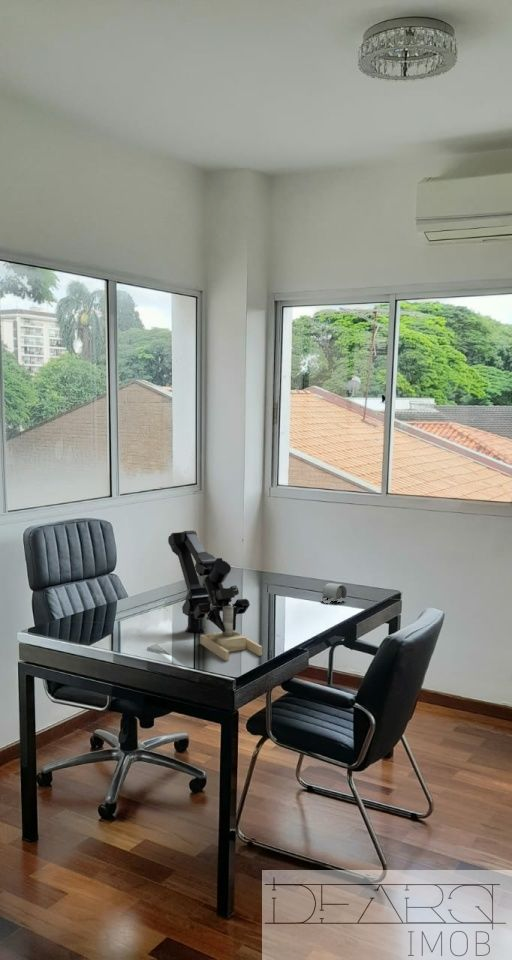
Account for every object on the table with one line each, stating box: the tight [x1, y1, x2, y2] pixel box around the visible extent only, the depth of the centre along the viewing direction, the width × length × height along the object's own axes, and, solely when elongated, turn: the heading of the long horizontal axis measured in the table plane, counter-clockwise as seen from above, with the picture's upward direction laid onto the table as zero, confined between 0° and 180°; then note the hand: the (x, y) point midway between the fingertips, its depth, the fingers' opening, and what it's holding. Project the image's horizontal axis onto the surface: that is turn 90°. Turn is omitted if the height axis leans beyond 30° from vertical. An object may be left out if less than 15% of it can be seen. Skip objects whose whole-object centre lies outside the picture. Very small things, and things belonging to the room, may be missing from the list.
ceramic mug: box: [320, 582, 348, 602], centre depth 329 cm, size 11×8×8 cm
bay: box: [199, 630, 263, 661], centre depth 258 cm, size 20×14×4 cm
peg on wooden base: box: [208, 606, 247, 653], centre depth 259 cm, size 9×9×14 cm
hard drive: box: [146, 641, 172, 657], centre depth 259 cm, size 2×8×12 cm
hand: (229, 630), depth 258 cm, fingers closed on peg on wooden base, 3 cm apart
